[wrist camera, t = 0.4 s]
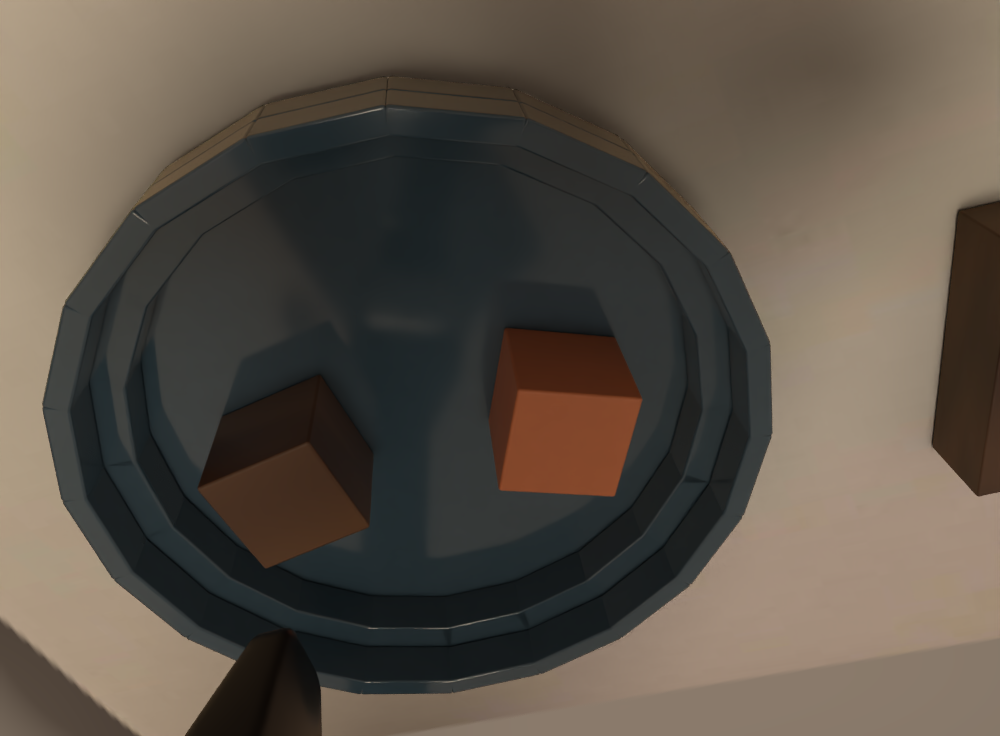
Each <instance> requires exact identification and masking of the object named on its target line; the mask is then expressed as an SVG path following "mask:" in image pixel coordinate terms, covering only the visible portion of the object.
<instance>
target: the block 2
mask: <svg viewBox="0 0 1000 736" xmlns="http://www.w3.org/2000/svg"><path fill="white" fill-rule="evenodd" d="M641 403H642V397H641V395H640V392H639V390H638V388H637V386H636V383H635V381H634V379H633V377H632V374H631V372H630V370H629V368H628V365H627V363H626V361H625V358H624V356H623V354H622V352H621V349H620V347H619V345H618V343H617V340H616V338H614V337H606V336H595V335H583V334H572V333H560V332H548V331H537V330H525V329H513V328H505V330H504V334H503V340H502V346H501V352H500V358H499V363H498V369H497V375H496V381H495V386H494V392H493V398H492V404H491V409H490V415H489V427H490V434H491V440H492V447H493V454H494V461H495V467H496V474H497V481H498V487H499V490H501V491H518V492H537V493H556V494H574V495H593V496H612V497H613V496H615V494H616V490H617V487H618V483H619V480H620V476H621V473H622V469H623V466H624V462H625V459H626V455H627V452H628V449H629V445H630V442H631V438H632V435H633V431H634V428H635V424H636V421H637V417H638V414H639V410H640V407H641Z"/></svg>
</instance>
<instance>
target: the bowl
mask: <svg viewBox="0 0 1000 736" xmlns="http://www.w3.org/2000/svg"><path fill="white" fill-rule="evenodd" d="M505 328H513V329H525V330H537V331H548V332H560V333H572V334H583V335H595V336H606V337H614V338H616V340H617V343H618V345H619V347H620V349H621V352H622V354H623V356H624V358H625V361H626V363H627V365H628V368H629V370H630V372H631V374H632V377H633V379H634V381H635V383H636V386H637V388H638V390H639V392H640V395H641V397H642V403H641V407H640V410H639V414H638V417H637V421H636V424H635V428H634V431H633V435H632V438H631V442H630V445H629V449H628V452H627V455H626V459H625V462H624V466H623V469H622V473H621V476H620V480H619V483H618V487H617V490H616V494H615V496H613V497H612V496H593V495H574V494H556V493H537V492H518V491H501V490H499V487H498V481H497V474H496V467H495V461H494V454H493V447H492V440H491V434H490V427H489V415H490V409H491V404H492V398H493V392H494V386H495V381H496V375H497V369H498V363H499V358H500V352H501V346H502V340H503V334H504V330H505ZM317 375H320V376H321V377H322V378H323V380H324V381H325V383H326V384H327V386H328V387H329V389H330V390H331V392H332V393H333V395H334V396H335V398H336V399H337V401H338V402H339V403H340V405H341V406H342V408H343V409H344V411H345V412H346V414H347V415H348V417H349V418H350V420H351V421H352V423H353V424H354V426H355V427H356V429H357V430H358V432H359V433H360V435H361V436H362V438H363V439H364V441H365V442H366V444H367V445H368V447H369V448H370V450H371V451H372V452H373V454H374V458H373V476H372V493H371V511H370V526H369V527H368V528H366V529H364V530H361V531H359V532H356V533H354V534H351V535H349V536H346V537H344V538H341V539H339V540H337V541H334V542H332V543H329V544H327V545H324V546H322V547H319V548H317V549H314V550H312V551H309V552H307V553H304V554H302V555H299V556H297V557H294V558H292V559H289V560H287V561H284V562H282V563H279V564H277V565H274V566H272V567H269V568H264V567H263V566H262V564H261V563H260V562H259V561H258V560H257V559H256V557H255V556H254V555H253V554H252V553H251V552H250V550H249V549H248V548H247V547H246V546H245V545H244V544H243V542H242V541H241V540H240V539H239V538H238V537H237V535H236V534H235V533H234V532H233V531H232V530H231V528H230V527H229V526H228V525H227V524H226V523H225V521H224V520H223V519H222V518H221V517H220V516H219V514H218V513H217V512H216V511H215V510H214V509H213V507H212V506H211V505H210V504H209V503H208V502H207V500H206V499H205V498H204V497H203V496H202V495H201V493H200V492H199V491H198V485H199V482H200V479H201V476H202V473H203V470H204V467H205V464H206V461H207V458H208V455H209V452H210V449H211V446H212V443H213V440H214V437H215V434H216V431H217V428H218V425H219V422H220V420H221V418H222V417H223V416H225V415H227V414H229V413H232V412H234V411H236V410H239V409H241V408H243V407H246V406H248V405H250V404H252V403H255V402H257V401H259V400H262V399H264V398H266V397H269V396H271V395H273V394H275V393H278V392H280V391H282V390H285V389H287V388H289V387H292V386H294V385H296V384H298V383H301V382H303V381H305V380H308V379H310V378H312V377H315V376H317ZM42 405H43V408H42V409H43V414H44V419H45V424H46V428H47V433H48V438H49V443H50V447H51V452H52V457H53V461H54V466H55V471H56V476H57V480H58V485H59V490H60V495H61V499H62V500H63V504H64V505H65V507H66V508H67V510H68V511H69V513H70V515H71V516H72V518H73V519H74V521H75V522H76V524H77V525H78V527H79V528H80V530H81V531H82V533H83V534H84V536H85V537H86V539H87V540H88V542H89V543H90V545H91V547H92V548H93V550H94V551H95V553H96V554H97V556H98V557H99V559H100V560H101V562H102V563H103V565H104V566H105V568H106V569H107V571H108V572H109V574H110V575H111V577H112V578H113V579H114V580H115V582H117V583H118V584H119V585H120V586H122V587H123V588H124V589H125V590H127V591H128V592H129V593H130V594H132V595H133V596H134V597H135V598H136V599H138V600H139V601H140V602H141V603H143V604H144V605H145V606H146V607H148V608H149V609H150V610H151V611H153V612H154V613H155V614H156V615H158V616H159V617H160V618H161V619H162V620H164V621H165V622H166V623H167V624H169V625H170V626H171V627H172V628H174V629H175V630H176V631H177V632H179V633H180V634H181V635H182V636H184V637H187V639H189V640H191V641H193V642H195V643H197V644H200V645H202V646H204V647H206V648H209V649H211V650H213V651H215V652H218V653H220V654H222V655H224V656H227V657H229V658H231V659H233V660H235V661H237V659H238V658H239V656H240V655H241V653H242V652H243V651H244V649H245V648H246V646H247V645H248V643H249V642H250V641H251V639H253V638H254V637H255V636H256V635H258V634H260V633H264V632H269V631H273V630H277V629H282V628H291V629H292V630H294V631H295V633H296V634H297V635H298V637H299V639H300V641H301V643H302V645H303V647H304V649H305V651H306V653H307V655H308V657H309V658H310V660H311V662H312V664H313V666H314V668H315V670H316V672H317V675H318V678H319V683H320V686H321V687H326V688H331V689H336V690H341V691H346V692H351V693H356V694H361V693H362V694H438V693H452V692H453V693H456V692H460V691H465V690H470V689H474V688H479V687H483V686H488V685H493V684H497V683H502V682H507V681H511V680H516V679H521V678H525V677H530V676H535V675H539V674H543V673H545V672H547V671H549V670H552V669H554V668H556V667H558V666H561V665H563V664H565V663H567V662H569V661H572V660H574V659H576V658H578V657H581V656H583V655H585V654H587V653H590V652H592V651H594V650H596V649H598V648H601V647H603V646H605V645H607V644H610V643H612V642H614V641H616V640H619V639H620V638H621V637H623V636H625V635H626V634H627V633H629V632H630V631H631V630H633V629H634V628H635V627H636V626H638V625H639V624H640V623H642V622H643V621H644V620H646V619H647V618H648V617H650V616H651V615H652V614H654V613H655V612H656V611H657V610H659V609H660V608H661V607H663V606H664V605H665V604H667V603H668V602H669V601H671V600H672V599H673V598H675V597H676V596H677V595H678V594H680V593H681V592H682V591H684V590H685V589H686V588H688V587H689V586H690V584H692V583H693V582H694V580H695V579H696V578H697V576H698V575H699V574H700V572H701V571H702V570H703V568H704V567H705V566H706V565H707V563H708V562H709V561H710V559H711V558H712V557H713V555H714V554H715V553H716V551H717V550H718V549H719V548H720V546H721V545H722V544H723V542H724V541H725V540H726V538H727V537H728V536H729V534H730V533H731V532H732V531H733V529H734V528H735V527H736V525H737V524H738V523H739V521H740V520H741V519H742V516H743V515H744V513H745V510H746V507H747V504H748V502H749V499H750V496H751V493H752V490H753V487H754V485H755V482H756V479H757V476H758V473H759V470H760V468H761V465H762V462H763V459H764V456H765V453H766V451H767V448H768V445H769V442H770V439H771V434H772V393H771V351H770V341H769V339H768V336H767V334H766V332H765V329H764V327H763V325H762V323H761V320H760V318H759V316H758V314H757V311H756V309H755V307H754V305H753V302H752V300H751V298H750V295H749V293H748V291H747V289H746V286H745V284H744V282H743V280H742V277H741V275H740V273H739V271H738V268H737V266H736V264H735V261H734V259H733V257H732V255H731V253H730V251H729V250H728V249H727V247H726V246H725V245H724V244H723V243H722V241H721V240H720V239H719V238H718V237H717V235H716V234H715V233H714V232H713V231H712V230H711V228H710V227H709V226H708V225H707V224H706V223H705V221H704V220H703V219H702V218H701V217H700V215H699V214H698V213H697V212H696V211H695V209H694V208H693V207H692V206H691V205H690V204H689V203H688V202H687V201H686V200H685V199H684V198H683V197H682V196H681V195H679V194H678V193H677V192H676V191H675V190H674V189H673V188H672V187H671V186H670V185H669V184H668V183H667V182H666V181H665V180H664V179H663V178H662V177H661V176H660V175H659V174H658V173H657V172H656V171H655V170H654V169H653V168H652V167H651V166H650V165H649V164H648V163H647V162H646V161H645V160H644V159H643V158H642V157H641V156H640V155H639V154H638V153H637V152H636V151H635V150H634V149H633V148H632V147H630V146H629V145H628V144H627V143H626V142H625V141H624V140H623V139H621V138H619V137H618V135H616V134H614V133H611V132H609V131H607V130H605V129H603V128H601V127H598V126H596V125H594V124H592V123H590V122H587V121H585V120H583V119H581V118H579V117H576V116H574V115H572V114H570V113H568V112H565V111H563V110H561V109H559V108H557V107H554V106H552V105H550V104H548V103H546V102H543V101H541V100H539V99H537V98H535V97H532V96H530V95H528V94H526V93H524V92H521V91H519V90H517V89H513V90H512V89H511V88H509V87H500V86H489V85H479V84H469V83H459V82H448V81H438V80H428V79H418V78H408V77H397V76H390V77H388V78H387V77H384V76H383V77H379V78H375V79H371V80H366V81H362V82H358V83H353V84H349V85H345V86H341V87H336V88H332V89H328V90H323V91H319V92H315V93H311V94H306V95H302V96H298V97H293V98H289V99H285V100H280V101H276V102H272V103H268V104H267V105H266V106H265V105H262V106H261V107H259V108H257V109H256V110H254V111H253V112H251V113H250V114H248V115H247V116H245V117H243V118H242V119H240V120H239V121H237V122H236V123H234V124H233V125H231V126H229V127H228V128H226V129H225V130H223V131H222V132H220V133H219V134H217V135H215V136H214V137H212V138H211V139H209V140H208V141H206V142H205V143H203V144H201V145H200V146H198V147H197V148H195V149H194V150H192V151H191V152H189V153H187V154H186V155H184V156H183V157H181V158H180V159H178V160H177V161H175V162H173V163H172V164H170V165H169V166H167V167H166V168H165V169H164V170H163V171H162V172H161V173H160V175H159V176H158V177H157V178H156V180H155V181H154V182H153V183H152V185H151V186H150V187H149V188H148V190H147V191H146V192H145V193H144V195H143V196H142V197H141V198H140V200H139V201H138V202H137V203H136V204H135V206H134V207H133V208H132V209H131V211H130V212H129V213H128V215H127V216H126V218H125V219H124V220H123V222H122V223H121V225H120V226H119V227H118V229H117V230H116V231H115V233H114V234H113V236H112V237H111V238H110V240H109V241H108V243H107V244H106V245H105V247H104V248H103V249H102V251H101V252H100V254H99V255H98V256H97V258H96V259H95V261H94V262H93V263H92V265H91V266H90V268H89V269H88V270H87V272H86V273H85V274H84V276H83V277H82V279H81V280H80V281H79V283H78V284H77V286H76V287H75V288H74V290H73V291H72V292H71V294H70V295H69V297H68V298H67V299H66V301H65V304H64V306H63V308H62V313H61V318H60V322H59V327H58V332H57V336H56V341H55V346H54V351H53V355H52V360H51V365H50V369H49V374H48V379H47V384H46V388H45V393H44V398H43V403H42Z"/></svg>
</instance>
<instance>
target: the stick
mask: <svg viewBox="0 0 1000 736" xmlns="http://www.w3.org/2000/svg"><path fill="white" fill-rule="evenodd" d="M933 448H934V449H935V450H936V451H937V453H938V454H939V455H940V456H941V457H942V458H943V459H944V460H945V461H946V462H947V464H948V465H949V466H950V467H951V468H952V469H953V470H954V471H955V472H956V473H957V475H958V476H959V477H960V478H961V479H962V480H963V481H964V482H965V483H966V484H967V486H968V487H969V488H970V489H971V490H972V491H973V492H974V493H975V494H976V495H977V496H983V495H987V494H992V493H997V492H1000V202H996V203H992V204H987V205H983V206H979V207H974V208H970V209H965V210H961V211H959V214H958V223H957V232H956V241H955V250H954V259H953V268H952V277H951V286H950V295H949V304H948V312H947V321H946V330H945V339H944V348H943V357H942V366H941V375H940V384H939V393H938V402H937V411H936V420H935V429H934V438H933Z"/></svg>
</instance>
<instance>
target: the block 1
mask: <svg viewBox="0 0 1000 736" xmlns="http://www.w3.org/2000/svg"><path fill="white" fill-rule="evenodd" d="M373 458H374V454H373V452H372V451H371V450H370V448H369V447H368V445H367V444H366V442H365V441H364V439H363V438H362V436H361V435H360V433H359V432H358V430H357V429H356V427H355V426H354V424H353V423H352V421H351V420H350V418H349V417H348V415H347V414H346V412H345V411H344V409H343V408H342V406H341V405H340V403H339V402H338V401H337V399H336V398H335V396H334V395H333V393H332V392H331V390H330V389H329V387H328V386H327V384H326V383H325V381H324V380H323V378H322V377H321V376H320V375H317V376H315V377H312V378H310V379H308V380H305V381H303V382H301V383H298V384H296V385H294V386H292V387H289V388H287V389H285V390H282V391H280V392H278V393H275V394H273V395H271V396H269V397H266V398H264V399H262V400H259V401H257V402H255V403H252V404H250V405H248V406H246V407H243V408H241V409H239V410H236V411H234V412H232V413H229V414H227V415H225V416H223V417H222V418H221V420H220V422H219V425H218V428H217V431H216V434H215V437H214V440H213V443H212V446H211V449H210V452H209V455H208V458H207V461H206V464H205V467H204V470H203V473H202V476H201V479H200V482H199V485H198V491H199V492H200V493H201V495H202V496H203V497H204V498H205V499H206V500H207V502H208V503H209V504H210V505H211V506H212V507H213V509H214V510H215V511H216V512H217V513H218V514H219V516H220V517H221V518H222V519H223V520H224V521H225V523H226V524H227V525H228V526H229V527H230V528H231V530H232V531H233V532H234V533H235V534H236V535H237V537H238V538H239V539H240V540H241V541H242V542H243V544H244V545H245V546H246V547H247V548H248V549H249V550H250V552H251V553H252V554H253V555H254V556H255V557H256V559H257V560H258V561H259V562H260V563H261V564H262V566H263V567H264V568H269V567H272V566H274V565H277V564H279V563H282V562H284V561H287V560H289V559H292V558H294V557H297V556H299V555H302V554H304V553H307V552H309V551H312V550H314V549H317V548H319V547H322V546H324V545H327V544H329V543H332V542H334V541H337V540H339V539H341V538H344V537H346V536H349V535H351V534H354V533H356V532H359V531H361V530H364V529H366V528H368V527H369V526H370V511H371V493H372V476H373Z"/></svg>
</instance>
